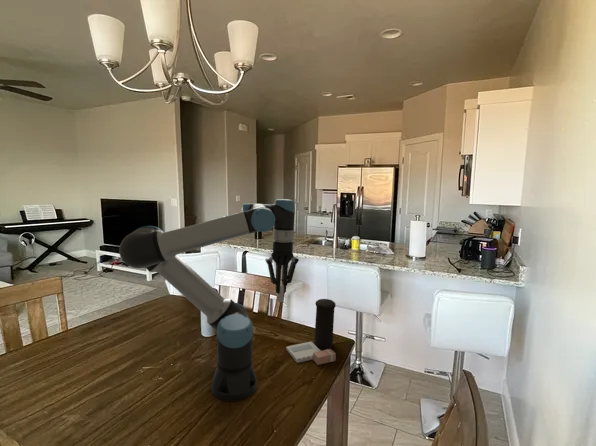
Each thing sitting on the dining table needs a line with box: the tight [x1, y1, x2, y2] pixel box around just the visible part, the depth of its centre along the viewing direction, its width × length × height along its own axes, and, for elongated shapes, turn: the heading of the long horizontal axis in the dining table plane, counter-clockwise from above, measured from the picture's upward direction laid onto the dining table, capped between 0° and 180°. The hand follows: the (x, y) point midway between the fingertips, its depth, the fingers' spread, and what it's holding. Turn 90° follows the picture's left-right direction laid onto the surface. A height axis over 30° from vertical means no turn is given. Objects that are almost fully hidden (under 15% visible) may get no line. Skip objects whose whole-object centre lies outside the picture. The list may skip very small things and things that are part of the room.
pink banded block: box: [312, 348, 337, 366], centre depth 127 cm, size 8×4×3 cm, turn 115°
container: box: [313, 298, 336, 351], centre depth 138 cm, size 9×9×20 cm
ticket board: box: [285, 341, 322, 364], centre depth 132 cm, size 12×11×1 cm
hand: (280, 300), depth 123 cm, fingers closed
